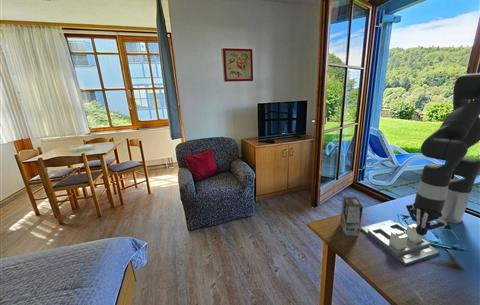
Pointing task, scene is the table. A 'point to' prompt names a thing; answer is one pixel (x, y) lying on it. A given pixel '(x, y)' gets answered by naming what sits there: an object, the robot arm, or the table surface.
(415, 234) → the tab
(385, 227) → the white slotted board
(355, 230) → the coffee box
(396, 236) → the tab
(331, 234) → the table surface
